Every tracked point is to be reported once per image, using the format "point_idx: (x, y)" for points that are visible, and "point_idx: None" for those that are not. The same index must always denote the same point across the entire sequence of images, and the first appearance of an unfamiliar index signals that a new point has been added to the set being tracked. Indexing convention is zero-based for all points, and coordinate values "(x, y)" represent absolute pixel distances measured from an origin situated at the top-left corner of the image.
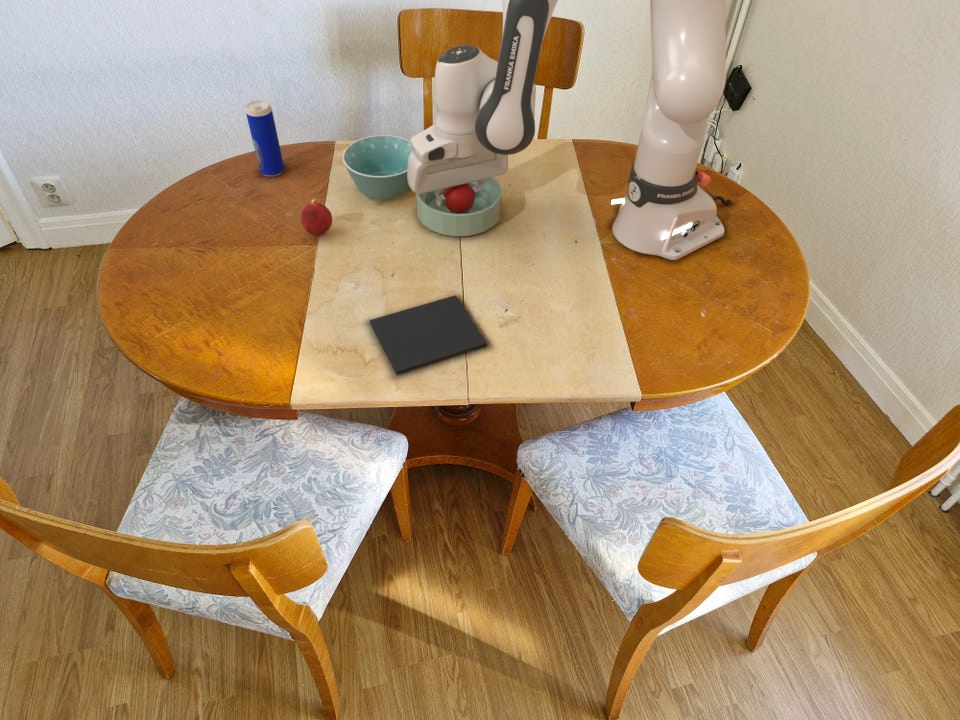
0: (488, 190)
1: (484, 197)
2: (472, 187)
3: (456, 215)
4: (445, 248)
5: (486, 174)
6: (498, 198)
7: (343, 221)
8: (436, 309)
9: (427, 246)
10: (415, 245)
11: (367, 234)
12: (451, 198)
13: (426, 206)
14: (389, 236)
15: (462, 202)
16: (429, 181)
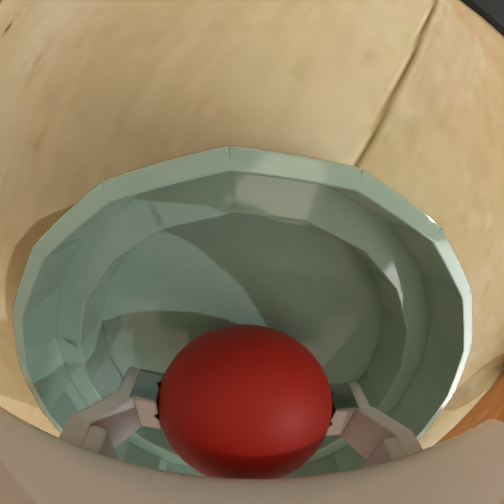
0: (85, 379)
1: (112, 367)
2: (154, 426)
3: (439, 229)
4: (419, 171)
5: (47, 464)
6: (38, 260)
7: (472, 390)
8: (499, 10)
9: (452, 222)
10: (467, 248)
11: (486, 342)
12: (326, 404)
13: (463, 369)
14: (474, 319)
15: (277, 363)
16: (490, 477)
